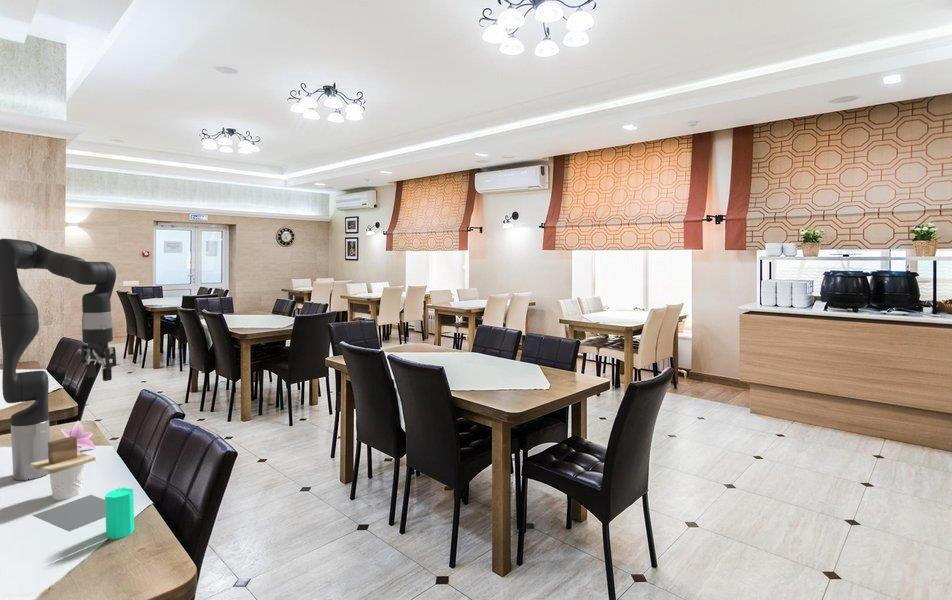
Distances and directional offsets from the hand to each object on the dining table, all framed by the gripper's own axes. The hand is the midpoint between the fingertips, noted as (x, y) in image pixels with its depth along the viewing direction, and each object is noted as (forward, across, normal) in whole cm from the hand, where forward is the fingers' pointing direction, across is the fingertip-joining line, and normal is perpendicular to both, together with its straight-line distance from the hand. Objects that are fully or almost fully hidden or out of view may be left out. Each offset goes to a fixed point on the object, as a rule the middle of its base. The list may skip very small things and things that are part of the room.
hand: (99, 379), depth 159 cm
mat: (+32, +18, -15) cm, 40 cm away
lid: (+22, +3, -12) cm, 25 cm away
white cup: (+32, +3, -11) cm, 34 cm away
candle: (+32, +38, -16) cm, 52 cm away
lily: (+32, -35, +10) cm, 49 cm away
